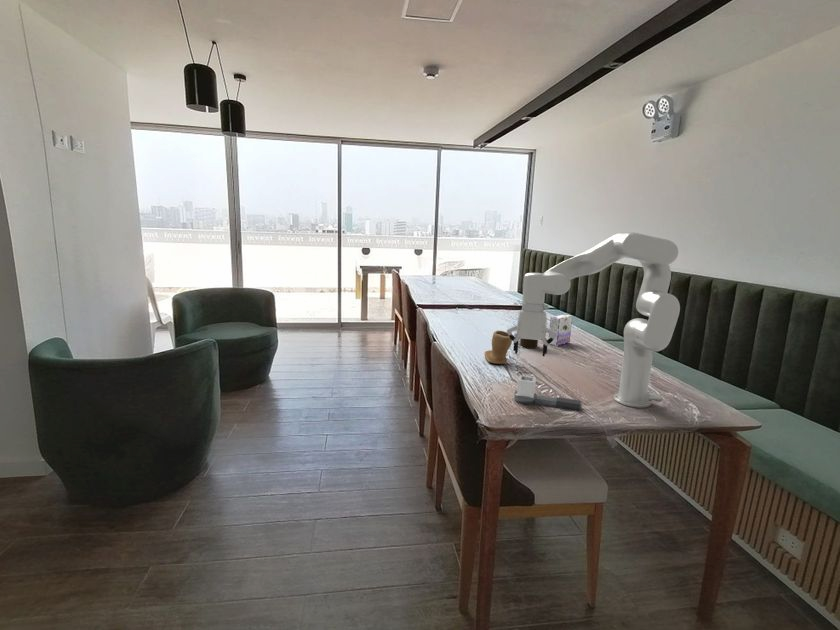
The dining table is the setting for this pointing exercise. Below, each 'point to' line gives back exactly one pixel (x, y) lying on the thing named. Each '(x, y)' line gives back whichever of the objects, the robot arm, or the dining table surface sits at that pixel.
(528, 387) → the socket
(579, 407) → the ratchet
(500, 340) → the tan boot
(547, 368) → the dining table surface
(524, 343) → the olive oil
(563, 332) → the candy box
